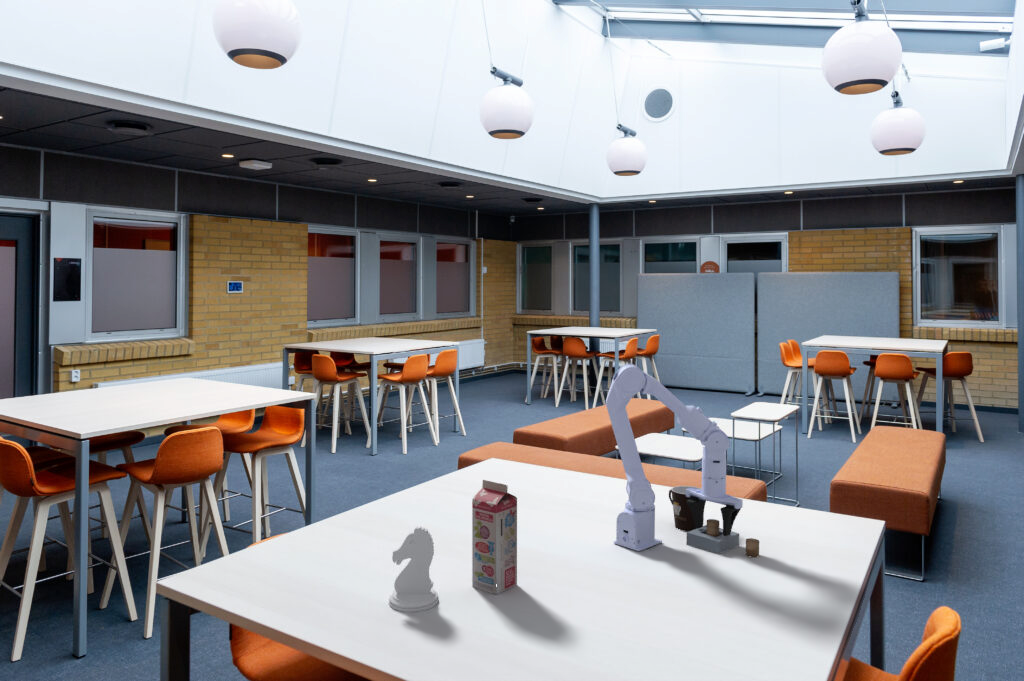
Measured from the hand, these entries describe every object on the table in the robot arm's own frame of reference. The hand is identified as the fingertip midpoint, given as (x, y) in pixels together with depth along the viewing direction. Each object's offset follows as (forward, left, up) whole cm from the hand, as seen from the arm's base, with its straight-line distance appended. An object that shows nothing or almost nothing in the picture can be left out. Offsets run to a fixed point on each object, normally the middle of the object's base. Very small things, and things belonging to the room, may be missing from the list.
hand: (712, 531), depth 174 cm
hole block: (0, 0, -3) cm, 3 cm away
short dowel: (+1, -10, -3) cm, 11 cm away
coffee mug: (+8, +13, -4) cm, 16 cm away
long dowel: (0, 0, -3) cm, 3 cm away
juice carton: (-56, +17, -4) cm, 59 cm away
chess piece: (-73, +22, -4) cm, 76 cm away
